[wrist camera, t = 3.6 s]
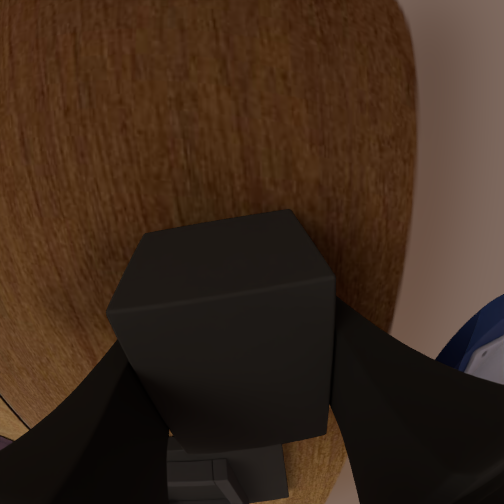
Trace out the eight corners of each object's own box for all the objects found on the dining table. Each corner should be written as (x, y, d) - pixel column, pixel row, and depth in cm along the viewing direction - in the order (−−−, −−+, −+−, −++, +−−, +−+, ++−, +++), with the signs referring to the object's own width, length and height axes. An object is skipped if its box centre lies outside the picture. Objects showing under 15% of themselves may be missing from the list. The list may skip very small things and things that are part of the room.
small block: (290, 207, 9) (337, 275, 6) (300, 352, 12) (326, 435, 8) (143, 232, 9) (103, 312, 5) (189, 369, 12) (186, 455, 8)
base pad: (278, 424, 15) (285, 462, 13) (287, 487, 20) (292, 511, 18) (59, 431, 14) (51, 462, 12) (133, 495, 20) (131, 517, 17)
